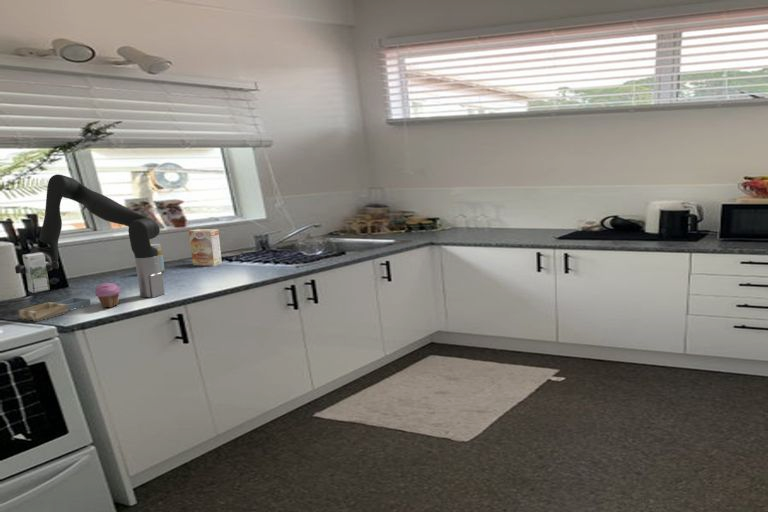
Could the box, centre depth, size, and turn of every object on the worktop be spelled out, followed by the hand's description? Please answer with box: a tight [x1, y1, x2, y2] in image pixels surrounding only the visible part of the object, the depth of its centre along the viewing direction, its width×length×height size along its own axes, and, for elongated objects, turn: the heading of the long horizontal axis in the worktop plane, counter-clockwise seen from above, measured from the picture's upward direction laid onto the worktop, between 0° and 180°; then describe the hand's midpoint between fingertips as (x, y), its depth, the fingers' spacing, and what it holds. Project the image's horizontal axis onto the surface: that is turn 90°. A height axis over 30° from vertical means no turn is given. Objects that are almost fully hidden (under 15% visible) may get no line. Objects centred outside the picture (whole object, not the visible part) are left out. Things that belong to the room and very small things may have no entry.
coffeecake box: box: [188, 228, 223, 267], centre depth 291 cm, size 15×7×20 cm, turn 68°
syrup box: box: [22, 252, 51, 294], centre depth 199 cm, size 6×6×14 cm
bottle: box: [150, 243, 166, 274], centre depth 274 cm, size 7×7×15 cm
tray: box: [17, 301, 69, 322], centre depth 201 cm, size 12×12×4 cm
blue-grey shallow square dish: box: [53, 296, 91, 311], centre depth 213 cm, size 10×10×2 cm
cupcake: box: [95, 282, 121, 308], centre depth 210 cm, size 9×9×10 cm
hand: (35, 270), depth 197 cm, fingers closed on syrup box, 7 cm apart
